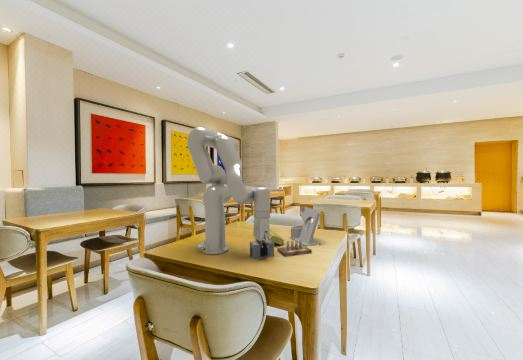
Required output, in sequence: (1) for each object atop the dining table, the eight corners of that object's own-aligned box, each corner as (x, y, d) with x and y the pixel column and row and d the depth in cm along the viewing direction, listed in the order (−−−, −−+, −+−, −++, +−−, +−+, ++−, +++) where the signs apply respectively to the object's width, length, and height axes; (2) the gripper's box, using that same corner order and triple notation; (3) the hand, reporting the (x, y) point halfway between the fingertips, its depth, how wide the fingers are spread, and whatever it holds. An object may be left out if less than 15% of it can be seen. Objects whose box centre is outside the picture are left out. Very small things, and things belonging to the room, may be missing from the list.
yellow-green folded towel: (286, 240, 123) (270, 234, 119) (280, 253, 122) (264, 247, 118) (270, 229, 141) (256, 223, 137) (265, 240, 140) (251, 235, 136)
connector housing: (253, 258, 103) (253, 244, 103) (249, 254, 108) (249, 241, 108) (274, 256, 107) (274, 242, 106) (270, 252, 111) (270, 239, 111)
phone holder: (288, 237, 136) (289, 206, 136) (303, 235, 140) (303, 205, 140) (305, 246, 120) (306, 211, 120) (322, 244, 124) (322, 210, 124)
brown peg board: (284, 256, 106) (284, 244, 105) (277, 251, 113) (277, 239, 113) (311, 253, 110) (311, 241, 110) (303, 247, 118) (303, 237, 118)
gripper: (248, 211, 113) (248, 248, 114) (260, 218, 97) (260, 261, 98) (263, 210, 116) (263, 247, 116) (276, 217, 100) (276, 259, 100)
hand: (261, 253), depth 107 cm, fingers closed on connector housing, 5 cm apart
